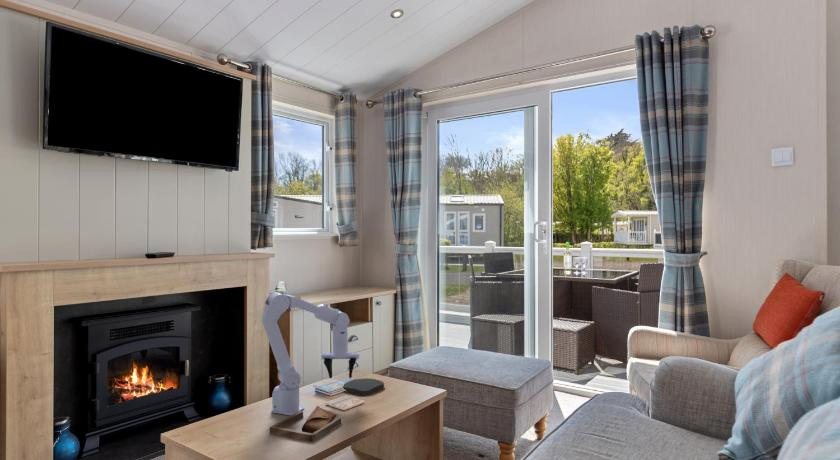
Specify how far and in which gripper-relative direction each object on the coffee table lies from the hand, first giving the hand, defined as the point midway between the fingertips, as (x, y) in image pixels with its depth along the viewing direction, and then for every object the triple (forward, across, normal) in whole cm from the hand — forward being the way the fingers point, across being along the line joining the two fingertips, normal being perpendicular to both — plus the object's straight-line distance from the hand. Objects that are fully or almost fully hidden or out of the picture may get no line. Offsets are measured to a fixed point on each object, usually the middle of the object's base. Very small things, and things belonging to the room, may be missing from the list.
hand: (340, 377), depth 196 cm
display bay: (+9, -7, -27) cm, 29 cm away
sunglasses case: (+10, -3, -22) cm, 25 cm away
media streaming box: (+10, +7, +16) cm, 20 cm away
